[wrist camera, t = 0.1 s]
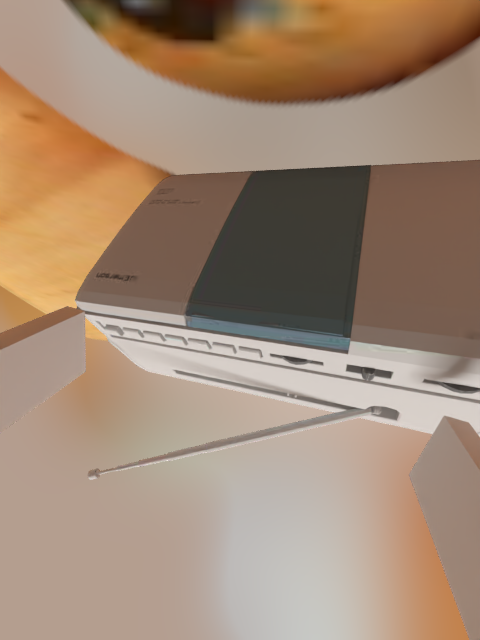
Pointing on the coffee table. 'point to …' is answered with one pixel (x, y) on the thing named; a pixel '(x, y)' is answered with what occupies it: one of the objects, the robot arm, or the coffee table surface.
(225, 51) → the coffee table surface
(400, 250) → the stereo radio cassette player
